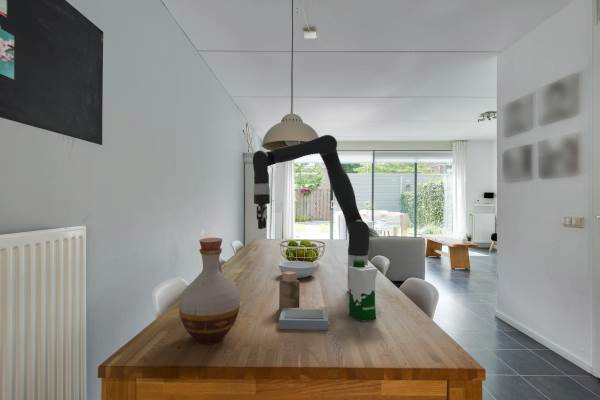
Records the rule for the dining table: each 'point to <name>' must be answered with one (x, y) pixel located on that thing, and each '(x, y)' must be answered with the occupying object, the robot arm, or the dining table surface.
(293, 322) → the dock
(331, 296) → the dining table surface
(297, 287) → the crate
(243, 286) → the dining table surface
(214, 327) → the jug
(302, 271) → the serving bowl
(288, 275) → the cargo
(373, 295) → the milk carton
